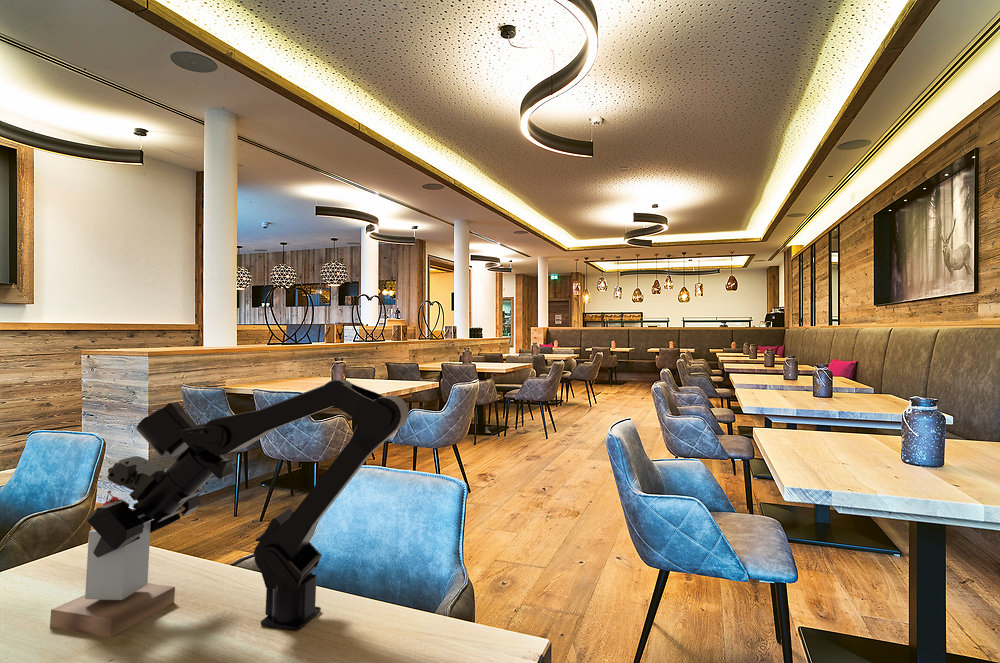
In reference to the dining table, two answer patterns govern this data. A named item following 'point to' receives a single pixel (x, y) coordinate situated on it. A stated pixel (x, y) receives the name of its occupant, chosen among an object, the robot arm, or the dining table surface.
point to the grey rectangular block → (117, 568)
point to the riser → (111, 611)
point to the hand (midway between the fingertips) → (111, 547)
